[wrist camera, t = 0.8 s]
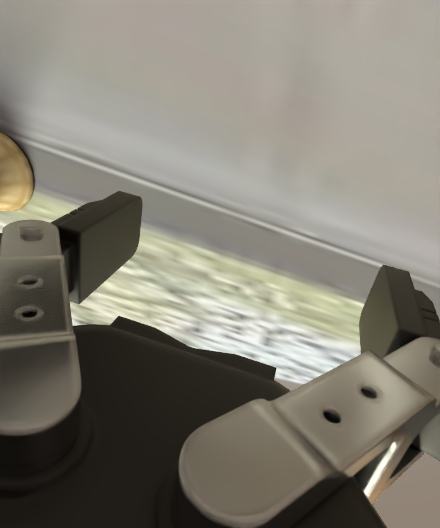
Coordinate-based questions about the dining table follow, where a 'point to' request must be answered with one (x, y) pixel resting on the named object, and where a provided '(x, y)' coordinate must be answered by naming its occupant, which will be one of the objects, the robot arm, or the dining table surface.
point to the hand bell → (14, 176)
